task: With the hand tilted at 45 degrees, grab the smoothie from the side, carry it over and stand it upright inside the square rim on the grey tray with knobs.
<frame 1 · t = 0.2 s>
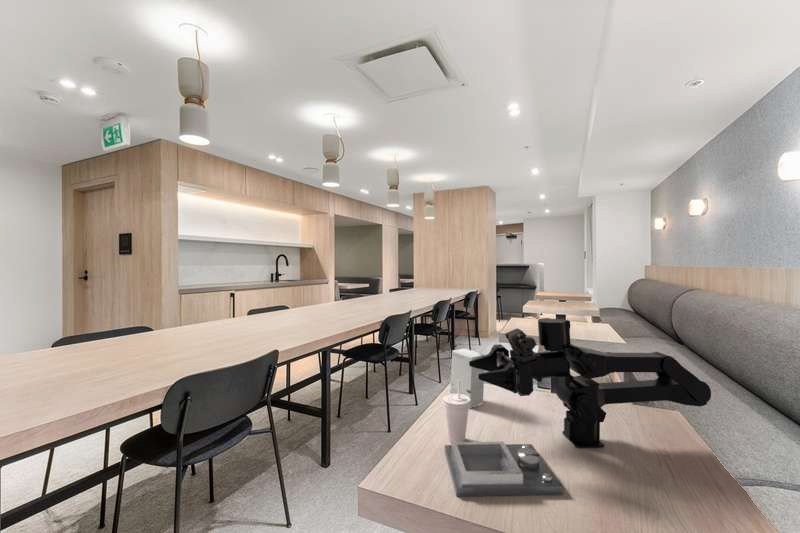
hand: (473, 369, 79), 17 cm above the table, tool horizontal, fingers open, 9 cm apart
skincare box: (467, 402, 101), on the table
grey tray with knobs: (498, 471, 68), on the table
smoothie: (456, 440, 80), on the table
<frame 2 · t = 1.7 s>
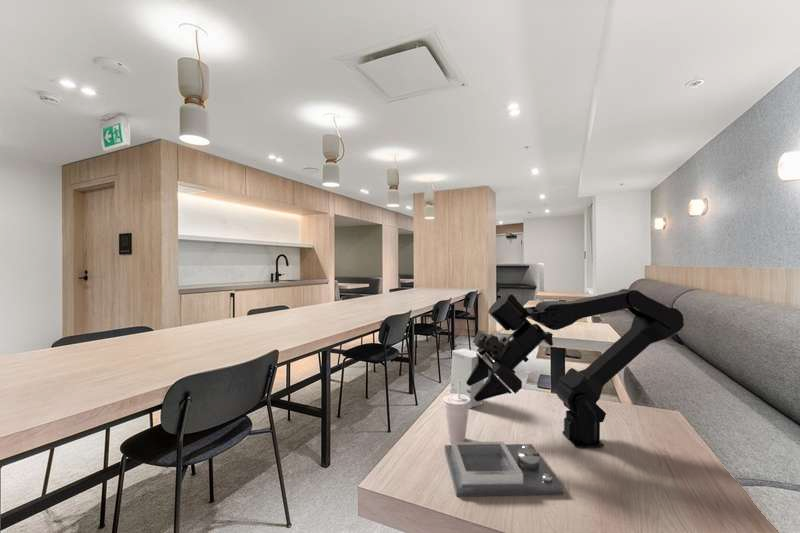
hand: (471, 391, 79), 11 cm above the table, tool tilted 45°, fingers open, 9 cm apart
nothing on the table moved.
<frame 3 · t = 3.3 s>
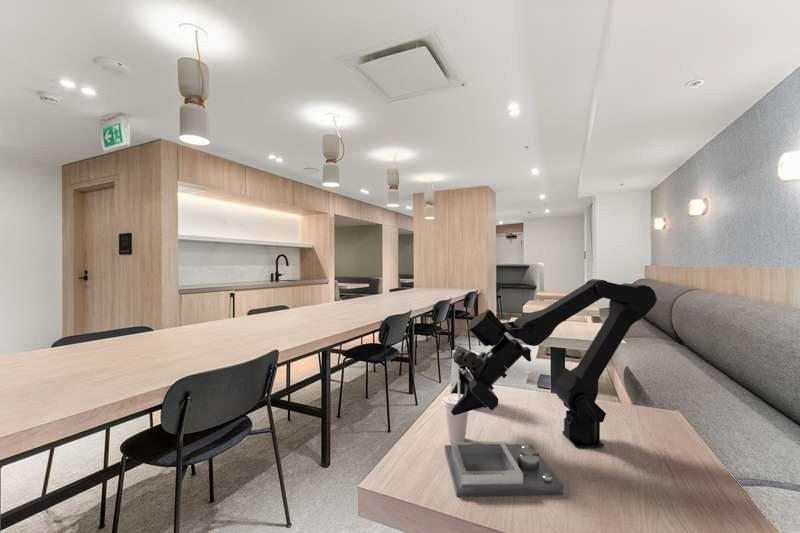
hand: (450, 407, 80), 8 cm above the table, tool tilted 45°, fingers closed on smoothie, 6 cm apart
smoothie: (456, 440, 80), on the table, touching gripper
everything else where it was.
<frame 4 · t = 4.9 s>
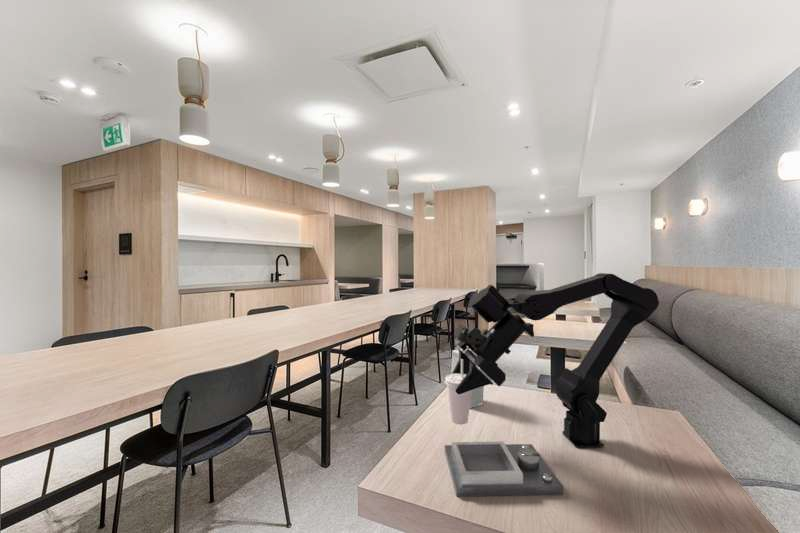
hand: (453, 387, 77), 13 cm above the table, tool tilted 45°, fingers closed on smoothie, 6 cm apart
smoothie: (459, 421, 78), point 5 cm above the table, touching gripper
everything else where it was.
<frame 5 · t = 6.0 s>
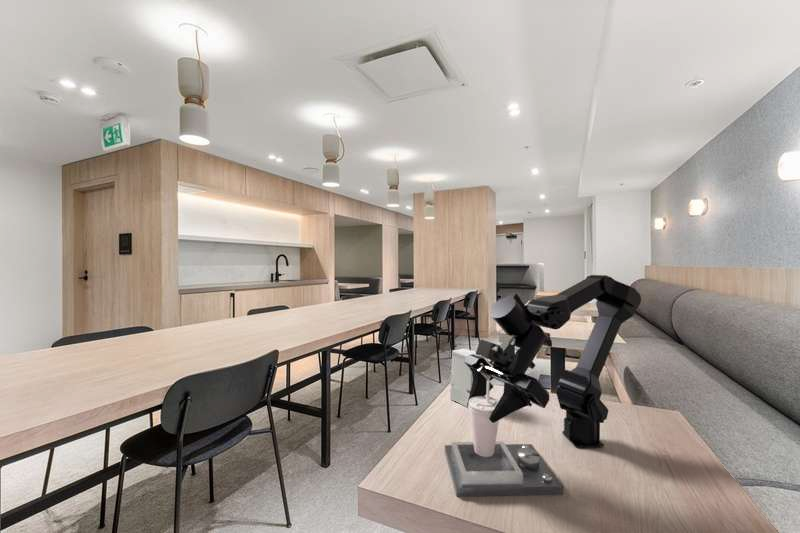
hand: (479, 414, 66), 12 cm above the table, tool tilted 45°, fingers closed on smoothie, 6 cm apart
smoothie: (483, 452, 67), point 4 cm above the table, touching gripper
everything else where it was.
when the fingers open (10 cm above the table, at t = 6.8 s): smoothie drops 1 cm, resting on grey tray with knobs.
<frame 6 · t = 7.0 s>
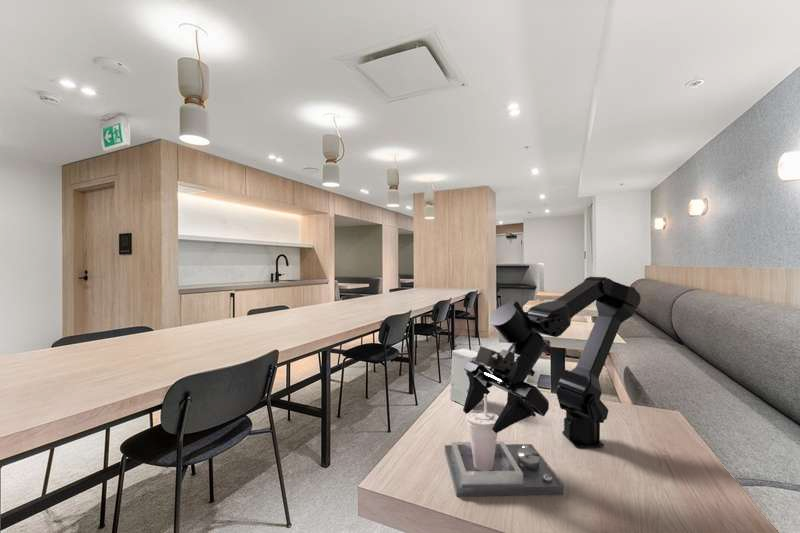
hand: (478, 421, 66), 11 cm above the table, tool tilted 45°, fingers open, 8 cm apart
smoothie: (483, 466, 67), point 1 cm above the table, touching grey tray with knobs
everything else where it was.
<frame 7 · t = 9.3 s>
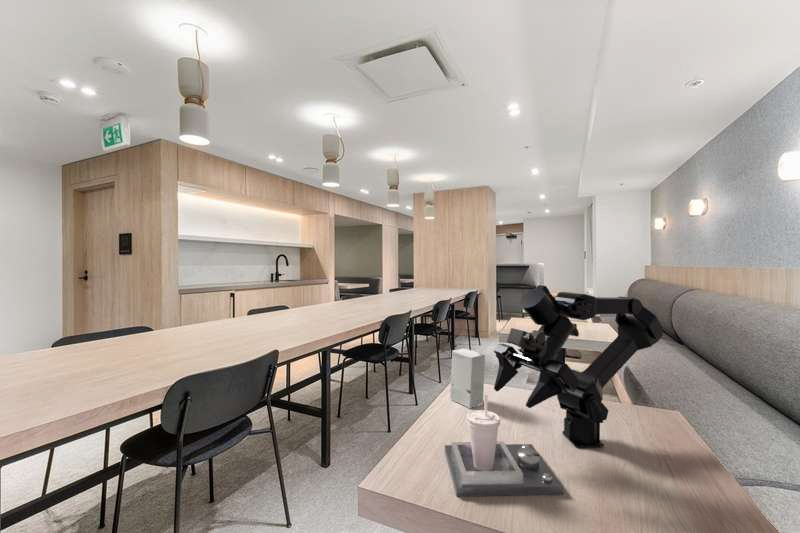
hand: (510, 398, 70), 13 cm above the table, tool tilted 45°, fingers open, 9 cm apart
nothing on the table moved.
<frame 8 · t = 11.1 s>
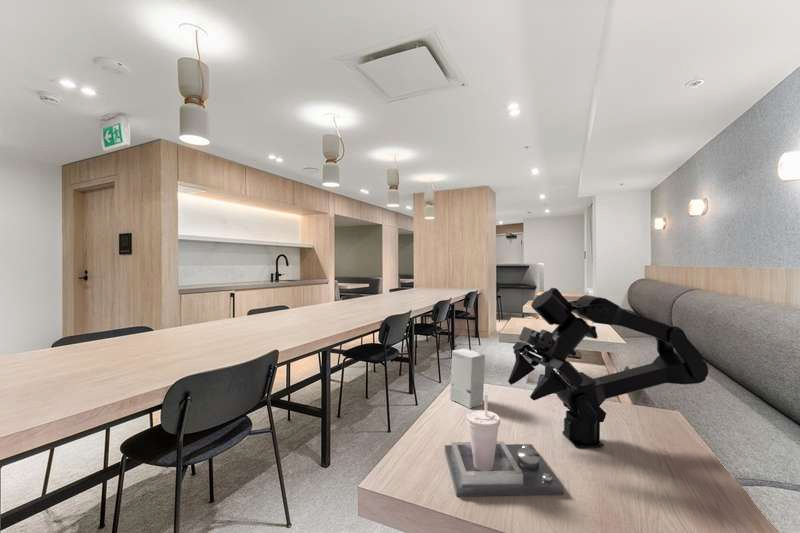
hand: (520, 390, 77), 13 cm above the table, tool tilted 45°, fingers open, 9 cm apart
nothing on the table moved.
at the end: smoothie 0.4 cm from the target spot on the grey tray with knobs, point 1.3 cm above the grey tray with knobs's base; smoothie tilted 0°; the gripper is holding nothing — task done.
